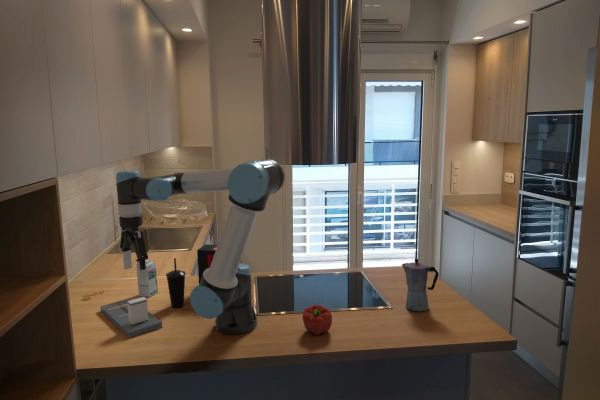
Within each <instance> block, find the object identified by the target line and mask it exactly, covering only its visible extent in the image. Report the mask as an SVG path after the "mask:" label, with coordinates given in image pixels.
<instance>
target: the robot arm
mask: <svg viewBox="0 0 600 400" xmlns="http://www.w3.org/2000/svg"><path fill="white" fill-rule="evenodd" d="M115 179H116V180H115V185H116V193H117V194H116V195H117V209H118V215H119V217H118V219H119V222H118V223H119V227H120V228H121V229H120V230H121V231H120V232H121V234H120V240H119V249H121V252H122V262H123V263H122V264H123V270H130V269H132V268H133V262H132V247H133V249H134V252H135V256H136V257H137V259H136V260H135V261H136V264H137V269H136V271H137V270H138V279H142V278H146V277H147V274H146V260H149V255H148V251H147V248H146V247H147V246H146V244H145V239H144V232H143V230H140V231H139V228H140V227H141V226H143V224H144V222H143V215H142V213H143V212H142V211H143V210H142V207H143V204H142V200H144V201H145V200H147V201H154V202H159V201H167V200H168V199H169V198H170V197H172V196H176V195H186V194H196V193H197V194H198V193H210V192H213V193H214V192H224V191H227V192H228V193H229V194H228V198H227V199H228V202H229V203H230V208H229V211H228V213H227V216H226V219H225V222H224V226H223V227H222V231H221V233H220V237H219V240H218V243H217V245H218V246H217V248H216V251H215V254H214V257H213V260H212V263H211V266H210V268H208V269H206V270H205V271H204V273H203V275H202V278H201V281H200V284H199V283H198V285H196V286H195V287H194V288H193V289H191V292H190V293H189V294H190V295H189V302H190V305H191V306H192V308H193V311H194V312H195V313H196V314H197V315H199V316H200V317H202V318H203V319H206V320H207V319H208V320H211V319H215V321H214V322H215V324H214V325H215V329H216V331H218V332H219V333H221V334H225V335H235V336H236V335H242V334H246V333H249V332H251V331H253V330H255V329H256V328H257V326H258V317H257V314H256V311H255V310H254V307H253V301H252V298H253V297H252V296H253V295H252V273H251V272H252V271H251V267H250V266H249V265H247V264H246V263H242V258H243V256H244V252H245V250H246V248H247V244H248V241H249V239H250V237H251V236H250V235H251V233H252V231H253V230H252V229H253V227H254V225H255V221H256V219H257V215H258V214H259V213H262V212H263V211H264V210H265V208H266V205H267V203H268V200H269V197H270V196H272V195H274V194H276V193H278V192H279V191H280V190H281V189H282V188H283V186H284V183H285V179H286V177H285V172H284V168H283V167H282V166H281V165H280V164H279V163H278V162H277V161H275V160H274V159H269V158H265V159H259V160H254V161H251V160H249V161H245V162H243V163H240V164H238V165H237V166H235V167H230V168H219V169H209V170H199V171H188V172H175V173H173V174H171V173H170V174H167V175H166V174H165V175H160V176H159V175H158V176H155V177H141V176H140V172H139V171H138V170H120V171H118V172H116V175H115ZM131 246H132V247H131ZM240 261H241V263H240Z"/></svg>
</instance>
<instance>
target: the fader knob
mask: <svg viewBox="0 0 600 400" xmlns="http://www.w3.org/2000/svg"><path fill="white" fill-rule="evenodd" d="M127 304H128V316H129V322H130V323H131V324H132V325H133V324H136V323H140V322H143V321H146V320H148V312H149V308H148V299H147V297H143V296H140V297H137V298H134V299H132V300H130V301H127Z"/></svg>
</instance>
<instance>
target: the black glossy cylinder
mask: <svg viewBox="0 0 600 400" xmlns="http://www.w3.org/2000/svg"><path fill="white" fill-rule="evenodd" d="M176 259H177V258H176V257H174V258H173V263H174V269H173V270H170V271H168V272H167V273H166V274H165V277H166V279H167V285H168V286H167V287H168V291H169V292H168V293H169V299H170V304H171V308H173V309H180V308H182V307H184V304H185V287H186V285H185V284H186V283H185V281H186V271H184V270H181V269H177V260H176Z"/></svg>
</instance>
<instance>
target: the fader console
mask: <svg viewBox="0 0 600 400" xmlns="http://www.w3.org/2000/svg"><path fill="white" fill-rule="evenodd" d="M130 300H133V298H132V297H131V298H127V299H123V300H119V301H115V302H110V303H107V304H104V305H101V306H100V311H101V313H102V314H103V315H104V316H105V317H106V318H108V320H109V321H111V322H112V323H113V324H114V325H115V326H116V327H117V328H118V330H120V331H121V332H122V334H124V335H125V336H126V337H127V338H128V339H130V338H133V337H136V336H139V335H142V334H146V333H149V332H152V331H155V330H157V329H160V328H162V327H163V325H162V321H161V320H160V319H158V318H157V317H156V316H154V315H153V314H152V313H151V312H149V311H148V320H146V321H143V322H140V323H136V324H133V325H132V324H131V323H130V322H129V316H128V304H127V301H130Z"/></svg>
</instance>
